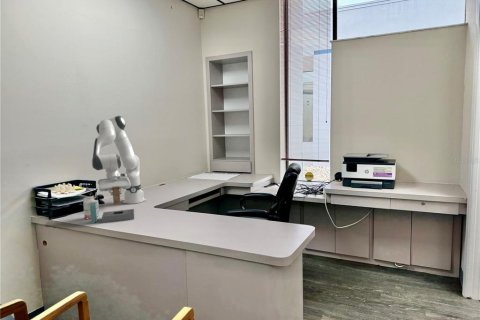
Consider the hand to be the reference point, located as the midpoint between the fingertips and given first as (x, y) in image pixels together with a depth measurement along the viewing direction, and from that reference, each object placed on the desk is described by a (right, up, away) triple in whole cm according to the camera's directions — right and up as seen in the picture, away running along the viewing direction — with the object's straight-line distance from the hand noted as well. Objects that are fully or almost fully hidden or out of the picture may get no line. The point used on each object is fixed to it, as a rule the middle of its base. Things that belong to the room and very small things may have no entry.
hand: (116, 194), depth 222 cm
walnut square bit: (0, -7, +1) cm, 7 cm away
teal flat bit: (-14, -18, -3) cm, 23 cm away
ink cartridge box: (-19, -17, +7) cm, 27 cm away
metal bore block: (+1, -17, +3) cm, 17 cm away
